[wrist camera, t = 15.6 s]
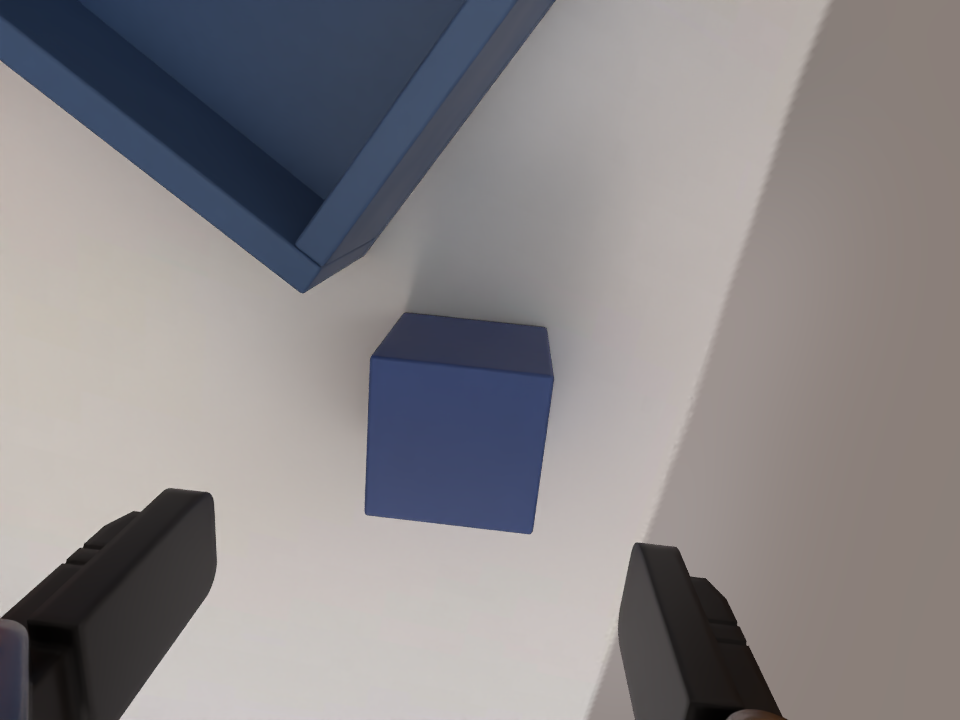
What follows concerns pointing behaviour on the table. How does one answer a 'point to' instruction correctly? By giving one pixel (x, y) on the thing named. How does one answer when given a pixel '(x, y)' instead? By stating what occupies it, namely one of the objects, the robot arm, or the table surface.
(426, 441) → the blue block
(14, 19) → the slate bin
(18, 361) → the table surface
